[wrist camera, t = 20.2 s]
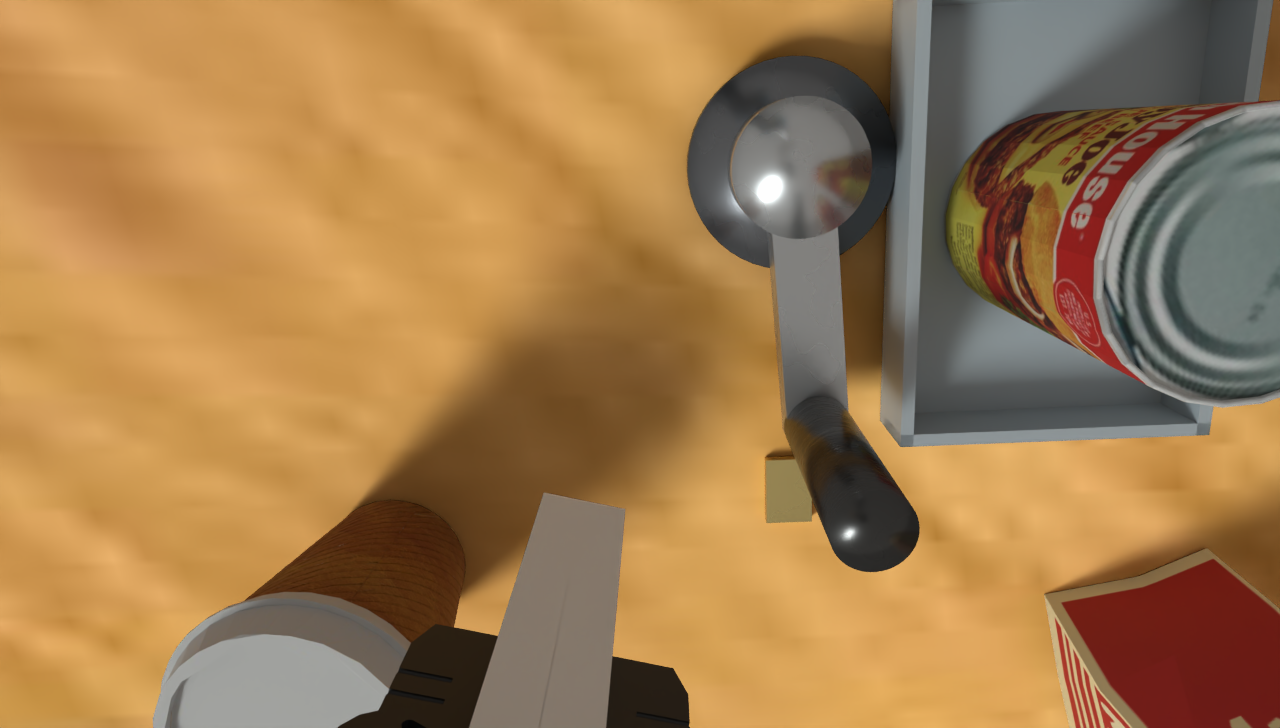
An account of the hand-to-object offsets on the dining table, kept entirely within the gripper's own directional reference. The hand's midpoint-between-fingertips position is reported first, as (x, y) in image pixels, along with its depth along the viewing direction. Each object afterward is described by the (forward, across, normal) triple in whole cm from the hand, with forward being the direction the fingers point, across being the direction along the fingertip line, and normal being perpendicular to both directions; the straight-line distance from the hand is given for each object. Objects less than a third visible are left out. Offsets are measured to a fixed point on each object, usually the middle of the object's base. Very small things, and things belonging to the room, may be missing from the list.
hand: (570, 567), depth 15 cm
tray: (+20, +16, +8) cm, 27 cm away
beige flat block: (+20, +9, -6) cm, 23 cm away
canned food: (+20, +16, +8) cm, 27 cm away
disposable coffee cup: (+21, -8, -14) cm, 26 cm away
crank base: (+20, +5, +8) cm, 22 cm away
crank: (+19, +7, +3) cm, 20 cm away
